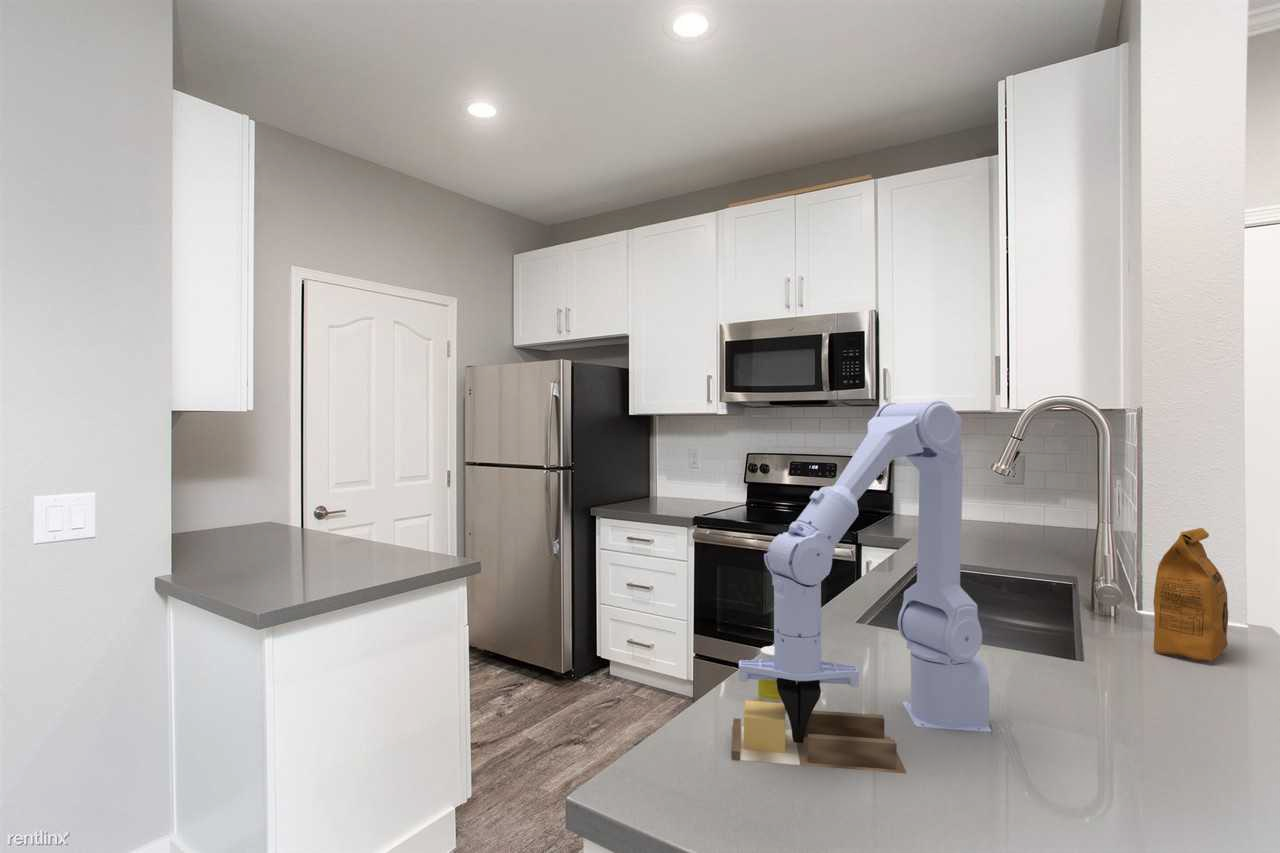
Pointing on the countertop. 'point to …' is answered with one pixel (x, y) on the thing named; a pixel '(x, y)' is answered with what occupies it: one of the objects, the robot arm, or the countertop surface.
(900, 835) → the countertop surface
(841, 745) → the walnut chute
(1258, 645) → the countertop surface
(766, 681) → the supplement bottle
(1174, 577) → the coffee package
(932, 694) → the robot arm
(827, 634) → the countertop surface
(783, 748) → the ochre block
